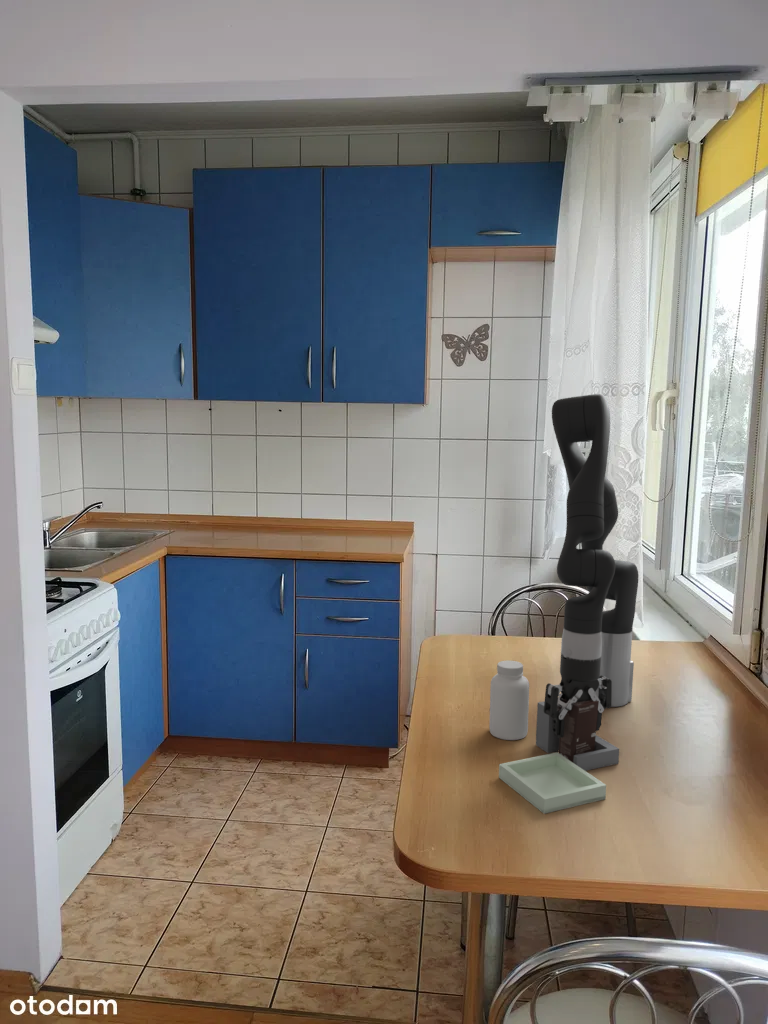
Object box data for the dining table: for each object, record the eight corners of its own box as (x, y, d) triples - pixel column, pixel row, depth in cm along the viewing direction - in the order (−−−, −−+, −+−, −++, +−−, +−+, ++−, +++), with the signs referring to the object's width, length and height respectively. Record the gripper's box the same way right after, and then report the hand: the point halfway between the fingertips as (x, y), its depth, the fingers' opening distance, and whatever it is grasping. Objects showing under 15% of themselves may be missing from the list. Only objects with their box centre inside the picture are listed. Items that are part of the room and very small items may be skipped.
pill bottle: (481, 728, 167) (484, 660, 165) (514, 723, 170) (516, 656, 168) (501, 743, 160) (504, 672, 157) (535, 737, 163) (538, 667, 161)
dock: (575, 737, 163) (578, 692, 162) (618, 763, 152) (621, 715, 150) (535, 744, 159) (537, 699, 158) (576, 772, 147) (578, 723, 146)
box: (574, 766, 150) (577, 706, 148) (557, 757, 154) (560, 698, 152) (596, 758, 153) (599, 699, 152) (578, 750, 157) (582, 692, 155)
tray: (556, 765, 150) (557, 752, 150) (605, 799, 138) (606, 785, 137) (498, 777, 145) (499, 764, 145) (543, 813, 133) (544, 799, 132)
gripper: (598, 642, 157) (593, 720, 159) (538, 650, 151) (534, 730, 153) (623, 653, 150) (618, 734, 152) (562, 662, 144) (557, 746, 147)
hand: (576, 732), depth 153 cm, fingers open, 8 cm apart
